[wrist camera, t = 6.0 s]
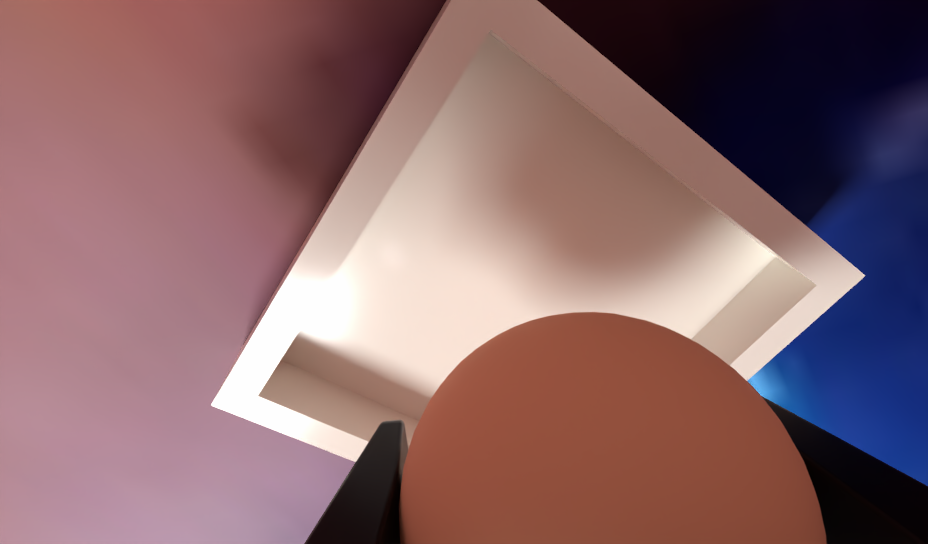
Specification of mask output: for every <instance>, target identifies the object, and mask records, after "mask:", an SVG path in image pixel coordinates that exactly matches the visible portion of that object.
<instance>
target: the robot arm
mask: <svg viewBox="0 0 928 544" xmlns="http://www.w3.org/2000/svg"><path fill="white" fill-rule="evenodd" d="M761 397H762V396H761ZM762 398H763V399H764V400H765V401H766V402H767V404H768V405H769V406H770V408H771V409H772V410H773V411H774V413H775V414H776V415H777V417H778V418H779V419H780V421H781V422H782V424H783V426H784V427H785V429H786V431H787V432H788V434H789V436H790V437H791V439H792V441H793V443H794V445H795V446H796V448H797V450H798V452H799V453H800V455H801V457H802V459H803V461H804V463H805V465H806V468H807V471H808V473H809V476H810V479H811V481H812V484H813V486H814V489H815V492H816V495H817V499H818V502H819V505H820V510H821V514H822V519H823V523H824V528H825V533H826V542H827V544H928V486H926V485H924V484H923V483H921V482H919V481H917V480H915V479H913V478H912V477H910V476H908V475H906V474H904V473H902V472H900V471H899V470H897V469H895V468H893V467H891V466H889V465H888V464H886V463H884V462H882V461H880V460H878V459H876V458H875V457H873V456H871V455H869V454H867V453H865V452H864V451H862V450H860V449H858V448H856V447H854V446H853V445H851V444H849V443H847V442H845V441H843V440H841V439H840V438H838V437H836V436H834V435H832V434H830V433H829V432H827V431H825V430H823V429H821V428H819V427H818V426H816V425H814V424H812V423H810V422H808V421H806V420H805V419H803V418H801V417H799V416H797V415H795V414H794V413H792V412H790V411H788V410H786V409H784V408H782V407H781V406H779V405H777V404H775V403H773V402H771V401H770V400H768V399H766V398H764V397H762ZM407 453H408V444H407V437H406V431H405V425H404V422H403V421H402V420H391V421H383V422H382V423H380V425H379V426H378V428H377V429H376V431H375V433H374V434H373V436H372V437H371V439H370V441H369V442H368V444H367V445H366V447H365V448H364V450H363V452H362V453H361V455H360V456H359V458H358V460H357V461H356V463H355V464H354V466H353V467H352V469H351V471H350V472H349V474H348V475H347V477H346V479H345V480H344V482H343V483H342V485H341V486H340V488H339V490H338V491H337V493H336V494H335V496H334V498H333V499H332V501H331V502H330V504H329V505H328V507H327V509H326V510H325V512H324V513H323V515H322V517H321V518H320V520H319V521H318V523H317V525H316V526H315V528H314V529H313V531H312V532H311V534H310V536H309V537H308V539H307V540H306V542H305V544H400V530H399V500H400V491H401V483H402V475H403V467H404V464H405V460H406V457H407Z"/></svg>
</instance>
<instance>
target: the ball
mask: <svg viewBox="0 0 928 544" xmlns="http://www.w3.org/2000/svg"><path fill="white" fill-rule="evenodd" d="M399 530H400V544H827V542H826V533H825V528H824V523H823V519H822V514H821V510H820V505H819V502H818V499H817V495H816V492H815V489H814V486H813V484H812V481H811V479H810V476H809V473H808V471H807V468H806V465H805V463H804V461H803V459H802V457H801V455H800V453H799V452H798V450H797V448H796V446H795V445H794V443H793V441H792V439H791V437H790V436H789V434H788V432H787V431H786V429H785V427H784V426H783V424H782V422H781V421H780V419H779V418H778V417H777V415H776V414H775V413H774V411H773V410H772V409H771V408H770V406H769V405H768V404H767V402H766V401H765V400H764V399H763V398H762V397H761V395H760V394H759V393H758V392H757V391H756V390H755V389H754V388H753V387H752V386H751V385H750V384H749V383H748V382H747V381H746V380H745V379H744V378H743V377H742V376H741V375H740V374H739V373H738V372H737V371H736V370H735V369H734V368H732V367H731V366H730V365H728V364H727V363H726V362H724V361H723V360H722V359H720V358H719V357H718V356H716V355H715V354H714V353H712V352H711V351H709V350H708V349H706V348H705V347H703V346H702V345H700V344H699V343H697V342H695V341H693V340H691V339H689V338H687V337H685V336H683V335H681V334H679V333H677V332H675V331H673V330H671V329H668V328H666V327H664V326H661V325H658V324H655V323H652V322H649V321H646V320H642V319H638V318H633V317H628V316H624V315H619V314H614V313H602V312H573V313H565V314H558V315H551V316H546V317H542V318H538V319H534V320H531V321H528V322H525V323H523V324H520V325H517V326H515V327H512V328H510V329H508V330H506V331H504V332H502V333H500V334H498V335H497V336H495V337H493V338H492V339H490V340H489V341H487V342H486V343H484V344H483V345H481V346H480V347H478V348H477V349H475V350H474V351H473V352H472V353H470V354H469V355H468V356H467V357H466V358H465V359H463V360H462V361H461V362H460V363H459V364H458V365H457V366H456V367H455V368H454V370H453V371H452V372H451V373H450V374H449V375H448V376H447V377H446V379H445V380H444V381H443V382H442V384H441V385H440V386H439V388H438V389H437V391H436V392H435V393H434V395H433V396H432V398H431V399H430V401H429V403H428V405H427V407H426V409H425V411H424V413H423V415H422V417H421V419H420V421H419V423H418V425H417V427H416V429H415V431H414V434H413V437H412V440H411V443H410V446H409V450H408V453H407V457H406V460H405V464H404V467H403V475H402V483H401V491H400V500H399Z"/></svg>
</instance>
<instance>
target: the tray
mask: <svg viewBox="0 0 928 544" xmlns="http://www.w3.org/2000/svg"><path fill="white" fill-rule="evenodd" d="M864 276H865V275H864V274H863V273H862V272H860V271H859V270H858V269H857V268H856V267H854V266H853V265H852V264H851V263H850V262H848V261H847V260H846V259H845V258H844V257H843V256H841V255H840V254H839V253H838V252H837V251H835V250H834V249H833V248H832V247H831V246H829V245H828V244H827V243H826V242H825V241H823V240H822V239H821V238H820V237H819V236H817V235H816V234H815V233H814V232H813V231H812V230H810V229H809V228H808V227H807V226H806V225H804V224H803V223H802V222H801V221H800V220H798V219H797V218H796V217H795V216H794V215H792V214H791V213H790V212H789V211H788V210H787V209H785V208H784V207H783V206H782V205H781V204H779V203H778V202H777V201H776V200H775V199H773V198H772V197H771V196H770V195H769V194H767V193H766V192H765V191H764V190H763V189H761V188H760V187H759V186H758V185H757V184H756V183H754V182H753V181H752V180H751V179H750V178H748V177H747V176H746V175H745V174H744V173H742V172H741V171H740V170H739V169H738V168H736V167H735V166H734V165H733V164H732V163H731V162H729V161H728V160H727V159H726V158H725V157H723V156H722V155H721V154H720V153H719V152H717V151H716V150H715V149H714V148H713V147H711V146H710V145H709V144H708V143H707V142H705V141H704V140H703V139H702V138H701V137H700V136H698V135H697V134H696V133H695V132H694V131H692V130H691V129H690V128H689V127H688V126H686V125H685V124H684V123H683V122H682V121H680V120H679V119H678V118H677V117H676V116H674V115H673V114H672V113H671V112H670V111H669V110H667V109H666V108H665V107H664V106H663V105H661V104H660V103H659V102H658V101H657V100H655V99H654V98H653V97H652V96H651V95H649V94H648V93H647V92H646V91H645V90H644V89H642V88H641V87H640V86H639V85H638V84H636V83H635V82H634V81H633V80H632V79H630V78H629V77H628V76H627V75H626V74H624V73H623V72H622V71H621V70H620V69H618V68H617V67H616V66H615V65H614V64H613V63H611V62H610V61H609V60H608V59H607V58H605V57H604V56H603V55H602V54H601V53H599V52H598V51H597V50H596V49H595V48H593V47H592V46H591V45H590V44H589V43H588V42H586V41H585V40H584V39H583V38H582V37H580V36H579V35H578V34H577V33H576V32H574V31H573V30H572V29H571V28H570V27H568V26H567V25H566V24H565V23H564V22H562V21H561V20H560V19H559V18H558V17H557V16H555V15H554V14H553V13H552V12H551V11H549V10H548V9H547V8H546V7H545V6H543V5H542V4H541V3H540V2H539V1H537V0H446V2H445V4H444V5H443V7H442V9H441V11H440V12H439V14H438V16H437V17H436V19H435V21H434V22H433V24H432V26H431V28H430V29H429V31H428V33H427V34H426V36H425V38H424V39H423V41H422V43H421V44H420V46H419V48H418V50H417V51H416V53H415V55H414V56H413V58H412V60H411V61H410V63H409V65H408V67H407V68H406V70H405V72H404V73H403V75H402V77H401V78H400V80H399V82H398V83H397V85H396V87H395V89H394V90H393V92H392V94H391V95H390V97H389V99H388V100H387V102H386V104H385V106H384V107H383V109H382V111H381V112H380V114H379V116H378V117H377V119H376V121H375V122H374V124H373V126H372V128H371V129H370V131H369V133H368V134H367V136H366V138H365V139H364V141H363V143H362V145H361V146H360V148H359V150H358V151H357V153H356V155H355V156H354V158H353V160H352V161H351V163H350V165H349V167H348V168H347V170H346V172H345V173H344V175H343V177H342V178H341V180H340V182H339V184H338V185H337V187H336V189H335V190H334V192H333V194H332V195H331V197H330V199H329V200H328V202H327V204H326V206H325V207H324V209H323V211H322V212H321V214H320V216H319V217H318V219H317V221H316V223H315V224H314V226H313V228H312V229H311V231H310V233H309V234H308V236H307V238H306V239H305V241H304V243H303V245H302V246H301V248H300V250H299V251H298V253H297V255H296V256H295V258H294V260H293V262H292V263H291V265H290V267H289V268H288V270H287V272H286V273H285V275H284V277H283V278H282V280H281V282H280V284H279V285H278V287H277V289H276V290H275V292H274V294H273V295H272V297H271V299H270V301H269V302H268V304H267V306H266V307H265V309H264V311H263V312H262V314H261V316H260V317H259V319H258V321H257V323H256V324H255V326H254V328H253V329H252V331H251V333H250V334H249V336H248V338H247V340H246V341H245V343H244V345H243V346H242V348H241V350H240V352H239V354H238V356H237V357H236V359H235V361H234V363H233V365H232V367H231V369H230V371H229V372H228V374H227V376H226V378H225V380H224V382H223V384H222V386H221V387H220V389H219V391H218V393H217V395H216V397H215V399H214V401H213V402H212V404H211V406H214V407H216V408H219V409H222V410H224V411H227V412H229V413H232V414H234V415H237V416H239V417H242V418H245V419H247V420H250V421H252V422H255V423H257V424H260V425H262V426H265V427H267V428H270V429H273V430H275V431H278V432H280V433H283V434H285V435H288V436H290V437H293V438H296V439H298V440H301V441H303V442H306V443H308V444H311V445H313V446H316V447H319V448H321V449H324V450H326V451H329V452H331V453H334V454H336V455H339V456H341V457H344V458H347V459H349V460H352V461H354V462H356V461H357V460H358V458H359V456H360V455H361V453H362V452H363V450H364V448H365V447H366V445H367V444H368V442H369V441H370V439H371V437H372V436H373V434H374V433H375V431H376V429H377V428H378V426H379V425H380V423H382V422H383V421H391V420H402V421H403V422H404V425H405V431H406V437H407V444H408V450H409V446H410V443H411V440H412V437H413V434H414V431H415V429H416V427H417V425H418V423H419V421H420V419H421V417H422V415H423V413H424V411H425V409H426V407H427V405H428V403H429V401H430V399H431V398H432V396H433V395H434V393H435V392H436V391H437V389H438V388H439V386H440V385H441V384H442V382H443V381H444V380H445V379H446V377H447V376H448V375H449V374H450V373H451V372H452V371H453V370H454V368H455V367H456V366H457V365H458V364H459V363H460V362H461V361H462V360H463V359H465V358H466V357H467V356H468V355H469V354H470V353H472V352H473V351H474V350H475V349H477V348H478V347H480V346H481V345H483V344H484V343H486V342H487V341H489V340H490V339H492V338H493V337H495V336H497V335H498V334H500V333H502V332H504V331H506V330H508V329H510V328H512V327H515V326H517V325H520V324H523V323H525V322H528V321H531V320H534V319H538V318H542V317H546V316H551V315H558V314H565V313H573V312H602V313H614V314H619V315H624V316H628V317H633V318H638V319H642V320H646V321H649V322H652V323H655V324H658V325H661V326H664V327H666V328H668V329H671V330H673V331H675V332H677V333H679V334H681V335H683V336H685V337H687V338H689V339H691V340H693V341H695V342H697V343H699V344H700V345H702V346H703V347H705V348H706V349H708V350H709V351H711V352H712V353H714V354H715V355H716V356H718V357H719V358H720V359H722V360H723V361H724V362H726V363H727V364H728V365H730V366H731V367H732V368H734V369H735V370H736V371H737V372H738V373H739V374H740V375H741V376H742V377H743V378H744V379H745V380H746V381H747V380H748V379H750V378H751V377H752V376H753V375H754V374H755V373H756V372H757V371H759V370H760V369H761V368H762V367H763V366H764V365H765V364H766V363H768V362H769V361H770V360H771V359H772V358H773V357H774V356H776V355H777V354H778V353H779V352H780V351H781V350H782V349H783V348H785V347H786V346H787V345H788V344H789V343H790V342H791V341H792V340H794V339H795V338H796V337H797V336H798V335H799V334H800V333H801V332H803V331H804V330H805V329H806V328H807V327H808V326H809V325H810V324H812V323H813V322H814V321H815V320H816V319H817V318H818V317H819V316H821V315H822V314H823V313H824V312H825V311H826V310H827V309H828V308H830V307H831V306H832V305H833V304H834V303H835V302H836V301H837V300H839V299H840V298H841V297H842V296H843V295H844V294H845V293H846V292H848V291H849V290H850V289H851V288H852V287H853V286H854V285H855V284H857V283H858V282H859V281H860V280H861V279H862V278H863V277H864Z"/></svg>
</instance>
